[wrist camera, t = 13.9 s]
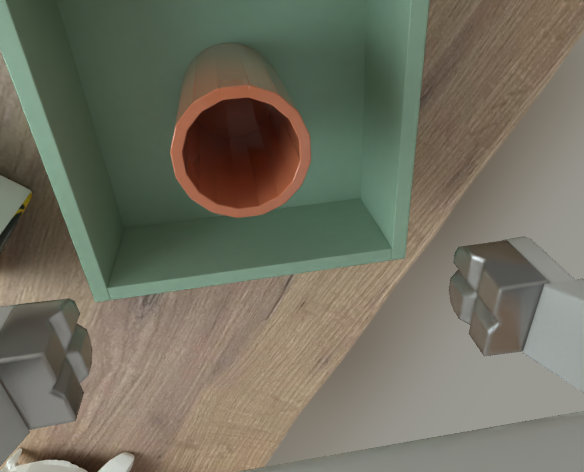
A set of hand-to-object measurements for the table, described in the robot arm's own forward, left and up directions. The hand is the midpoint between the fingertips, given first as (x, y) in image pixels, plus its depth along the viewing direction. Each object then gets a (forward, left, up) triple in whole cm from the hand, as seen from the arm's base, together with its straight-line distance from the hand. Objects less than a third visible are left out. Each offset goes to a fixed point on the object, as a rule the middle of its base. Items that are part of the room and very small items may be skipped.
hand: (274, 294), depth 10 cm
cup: (0, 0, -18) cm, 18 cm away
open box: (0, 0, -19) cm, 19 cm away
